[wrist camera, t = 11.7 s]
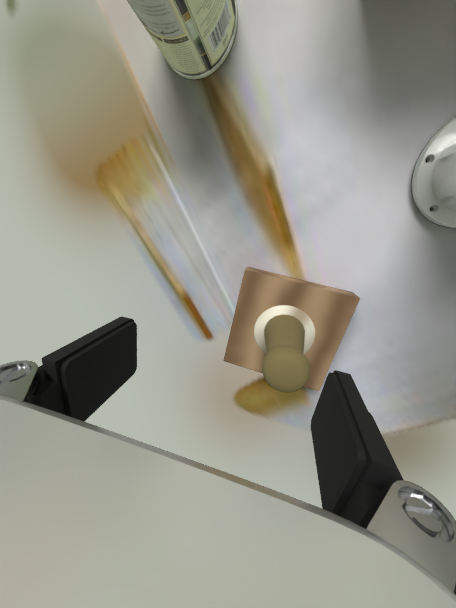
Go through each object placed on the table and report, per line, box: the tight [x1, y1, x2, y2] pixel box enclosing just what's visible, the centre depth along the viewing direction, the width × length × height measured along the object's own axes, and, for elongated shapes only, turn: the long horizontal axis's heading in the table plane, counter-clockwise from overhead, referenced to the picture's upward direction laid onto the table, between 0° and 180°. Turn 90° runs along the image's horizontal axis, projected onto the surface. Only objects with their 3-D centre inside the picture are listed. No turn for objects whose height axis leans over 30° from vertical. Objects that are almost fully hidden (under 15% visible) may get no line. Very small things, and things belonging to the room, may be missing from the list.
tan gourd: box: [262, 314, 310, 392], centre depth 28 cm, size 6×6×11 cm
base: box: [224, 267, 360, 391], centre depth 34 cm, size 16×16×3 cm
